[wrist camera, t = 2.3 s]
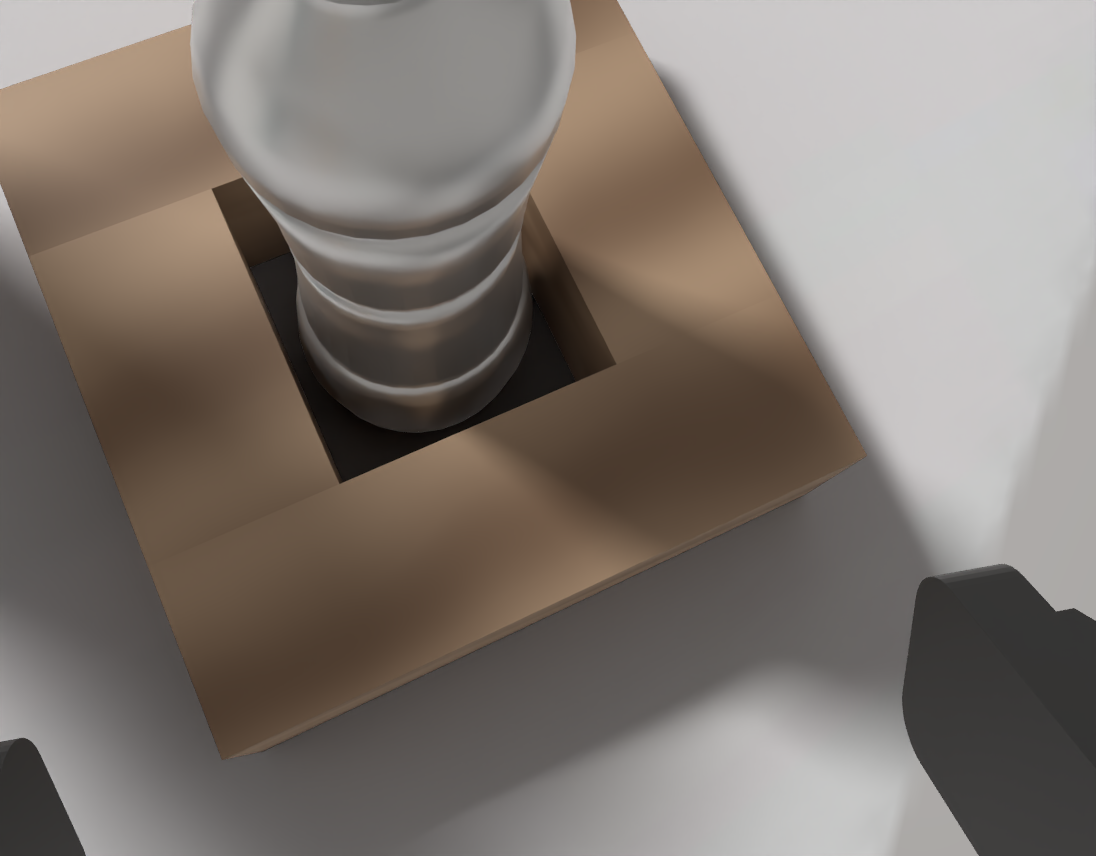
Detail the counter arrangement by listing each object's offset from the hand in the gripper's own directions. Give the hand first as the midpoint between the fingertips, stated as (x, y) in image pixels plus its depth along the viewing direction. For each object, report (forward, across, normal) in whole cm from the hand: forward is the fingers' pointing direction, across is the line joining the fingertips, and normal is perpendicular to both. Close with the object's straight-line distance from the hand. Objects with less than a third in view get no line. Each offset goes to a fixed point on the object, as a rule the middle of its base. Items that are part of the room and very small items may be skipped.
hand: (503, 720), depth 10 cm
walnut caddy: (+22, 0, +6) cm, 23 cm away
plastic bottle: (+22, 0, +7) cm, 23 cm away
